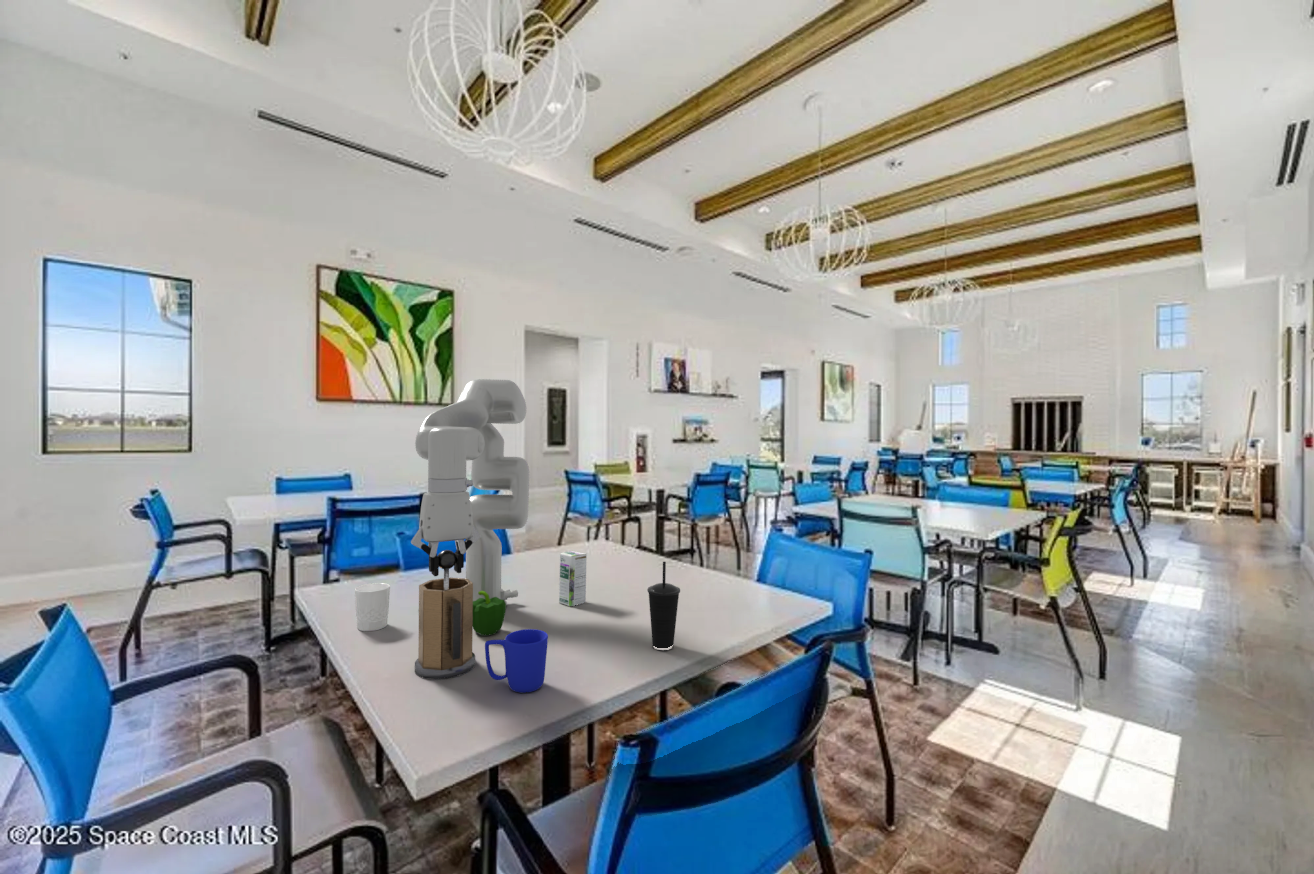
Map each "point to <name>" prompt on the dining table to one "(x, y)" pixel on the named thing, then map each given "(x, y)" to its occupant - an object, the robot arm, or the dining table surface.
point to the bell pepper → (488, 614)
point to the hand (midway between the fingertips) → (446, 572)
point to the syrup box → (572, 578)
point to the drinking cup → (663, 612)
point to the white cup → (372, 606)
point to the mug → (522, 659)
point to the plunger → (446, 564)
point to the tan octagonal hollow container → (445, 629)
